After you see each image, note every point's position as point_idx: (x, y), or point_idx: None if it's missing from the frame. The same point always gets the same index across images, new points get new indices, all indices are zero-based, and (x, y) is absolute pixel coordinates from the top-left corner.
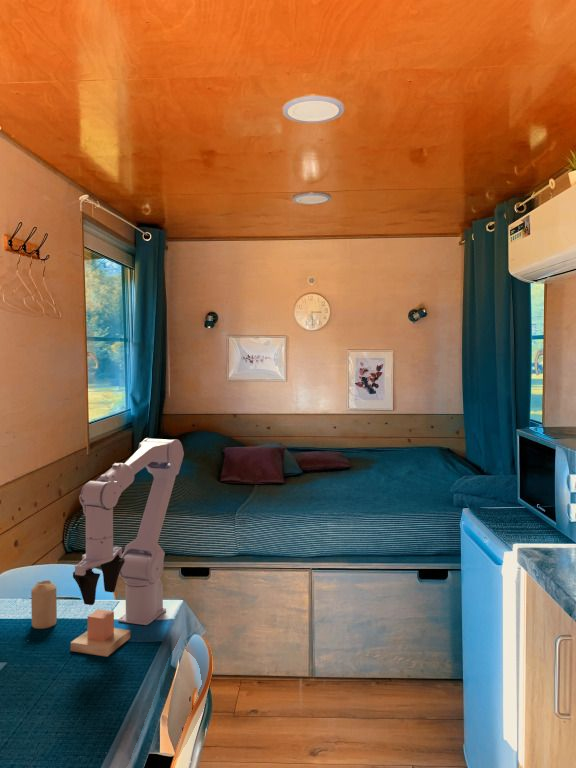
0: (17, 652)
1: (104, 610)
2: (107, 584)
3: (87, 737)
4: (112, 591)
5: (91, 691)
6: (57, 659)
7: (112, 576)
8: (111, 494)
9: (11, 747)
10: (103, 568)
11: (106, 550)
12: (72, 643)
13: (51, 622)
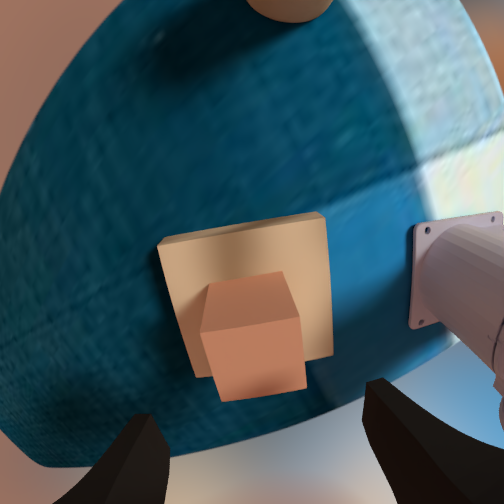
0: (80, 88)
1: (300, 351)
2: (384, 427)
3: (36, 445)
4: (364, 422)
5: (81, 410)
6: (104, 245)
7: (401, 491)
8: None
9: None
10: (448, 497)
11: None
12: (159, 253)
13: (284, 16)
